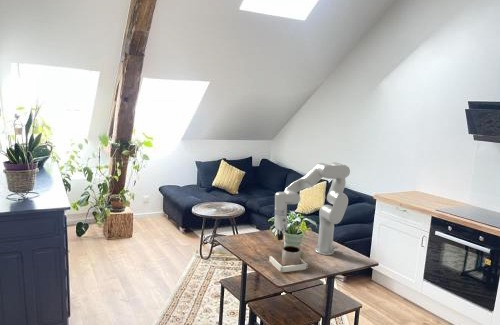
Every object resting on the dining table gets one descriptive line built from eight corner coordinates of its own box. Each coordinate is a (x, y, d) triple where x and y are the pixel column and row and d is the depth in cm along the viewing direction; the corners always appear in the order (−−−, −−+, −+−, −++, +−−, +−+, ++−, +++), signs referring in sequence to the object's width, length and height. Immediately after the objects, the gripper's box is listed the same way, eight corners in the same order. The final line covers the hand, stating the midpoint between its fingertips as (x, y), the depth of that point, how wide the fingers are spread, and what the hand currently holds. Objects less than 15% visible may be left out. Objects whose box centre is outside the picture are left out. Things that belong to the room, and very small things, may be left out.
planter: (303, 266, 220) (304, 251, 219) (288, 269, 215) (289, 253, 213) (292, 259, 229) (293, 244, 228) (277, 262, 224) (279, 247, 222)
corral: (294, 258, 231) (294, 253, 231) (307, 269, 216) (308, 264, 216) (269, 261, 225) (269, 256, 224) (281, 272, 210) (281, 267, 209)
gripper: (291, 214, 224) (291, 243, 227) (280, 207, 238) (280, 235, 241) (280, 215, 222) (280, 244, 225) (270, 209, 235) (269, 236, 238)
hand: (280, 239), depth 233 cm, fingers closed
